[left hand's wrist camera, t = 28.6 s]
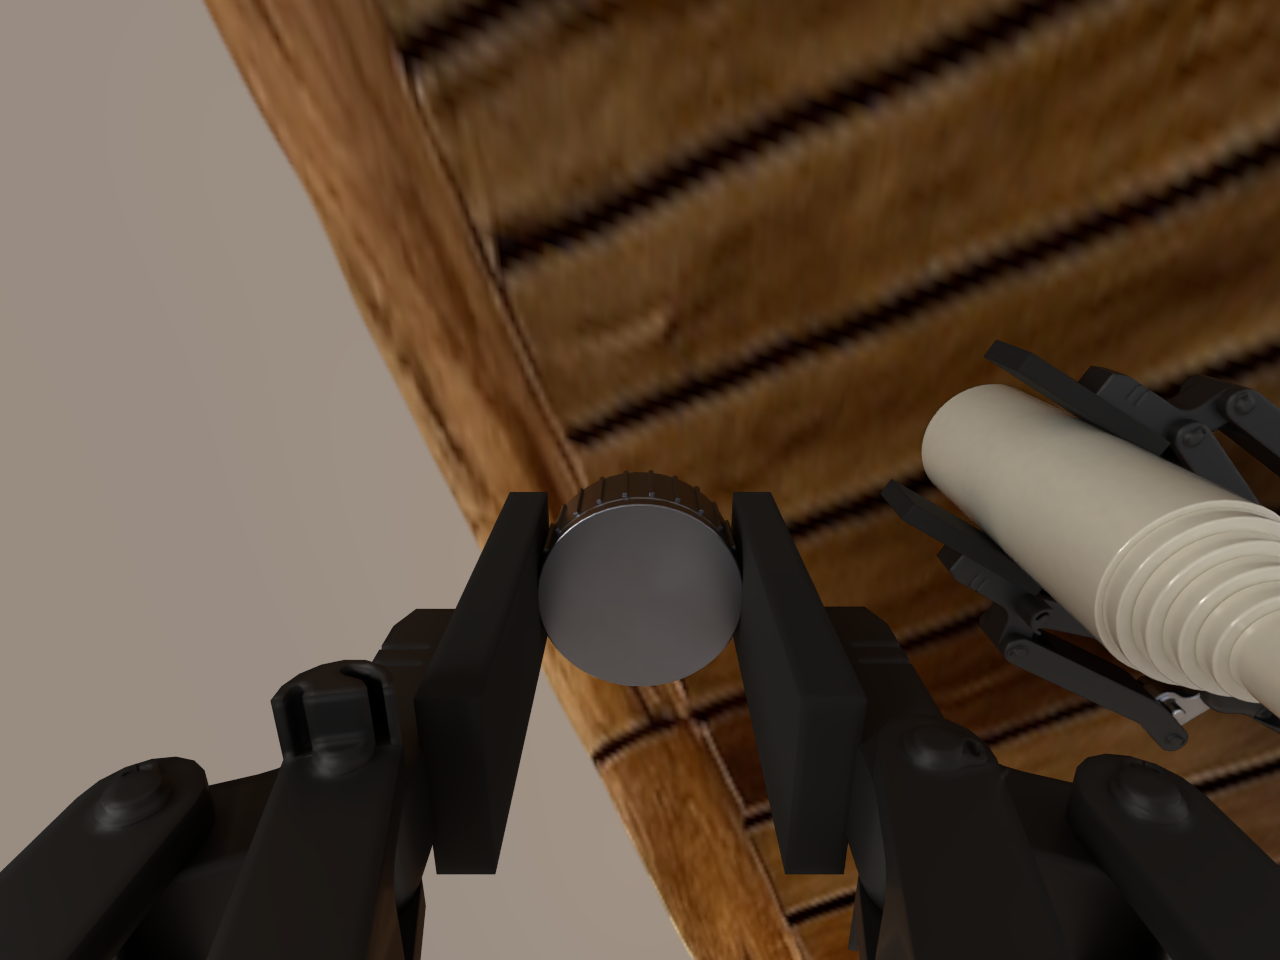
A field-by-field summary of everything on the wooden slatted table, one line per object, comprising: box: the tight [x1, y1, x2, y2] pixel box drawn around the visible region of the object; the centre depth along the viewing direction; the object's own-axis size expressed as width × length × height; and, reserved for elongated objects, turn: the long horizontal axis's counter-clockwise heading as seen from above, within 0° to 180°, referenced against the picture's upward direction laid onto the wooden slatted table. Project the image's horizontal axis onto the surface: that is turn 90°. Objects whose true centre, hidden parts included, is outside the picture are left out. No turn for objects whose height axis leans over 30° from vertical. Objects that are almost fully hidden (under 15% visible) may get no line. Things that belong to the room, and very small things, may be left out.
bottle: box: [922, 384, 1280, 719], centre depth 25 cm, size 6×6×20 cm
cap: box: [538, 470, 743, 686], centre depth 14 cm, size 4×4×2 cm
